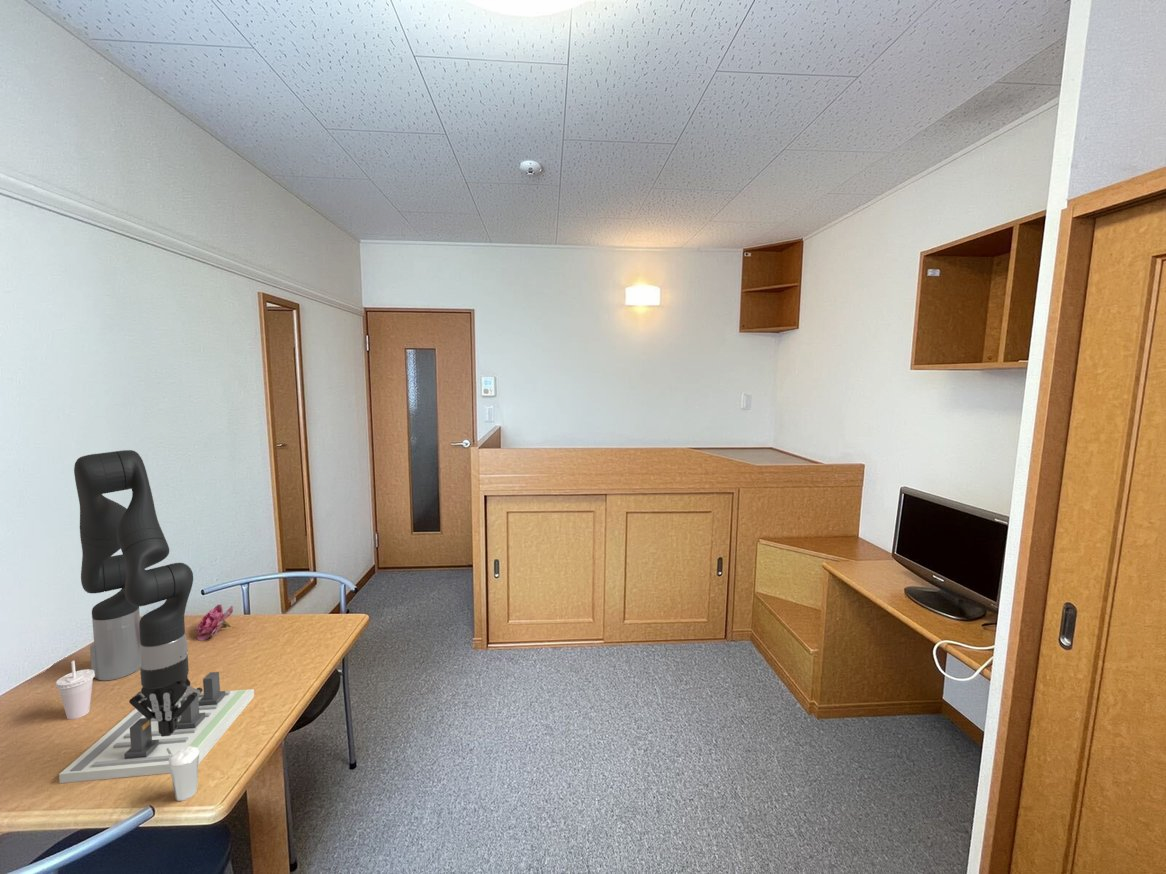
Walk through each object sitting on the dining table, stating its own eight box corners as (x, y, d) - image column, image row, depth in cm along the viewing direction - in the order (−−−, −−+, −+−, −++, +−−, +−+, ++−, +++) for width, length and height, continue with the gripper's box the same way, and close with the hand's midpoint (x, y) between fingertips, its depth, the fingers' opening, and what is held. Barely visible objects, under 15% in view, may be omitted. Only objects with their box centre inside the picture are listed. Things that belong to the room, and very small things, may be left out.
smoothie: (52, 726, 108) (47, 670, 107) (67, 709, 114) (62, 656, 112) (90, 718, 111) (86, 663, 110) (102, 702, 117) (98, 650, 115)
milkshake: (178, 785, 94) (176, 739, 93) (206, 784, 94) (204, 738, 93) (160, 805, 89) (157, 757, 88) (189, 803, 89) (187, 756, 88)
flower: (197, 653, 145) (178, 627, 144) (221, 638, 154) (204, 614, 154) (227, 632, 145) (209, 606, 144) (249, 619, 155) (232, 595, 154)
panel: (59, 783, 93) (56, 742, 92) (150, 703, 117) (147, 670, 116) (193, 770, 97) (190, 731, 96) (254, 696, 121) (252, 664, 120)
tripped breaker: (124, 759, 97) (122, 729, 96) (138, 746, 100) (136, 717, 100) (146, 757, 97) (144, 727, 97) (158, 744, 101) (157, 716, 100)
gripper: (113, 670, 93) (119, 750, 95) (187, 666, 95) (191, 743, 97) (142, 650, 100) (147, 723, 102) (210, 646, 103) (213, 718, 104)
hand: (168, 733), depth 99 cm, fingers closed
